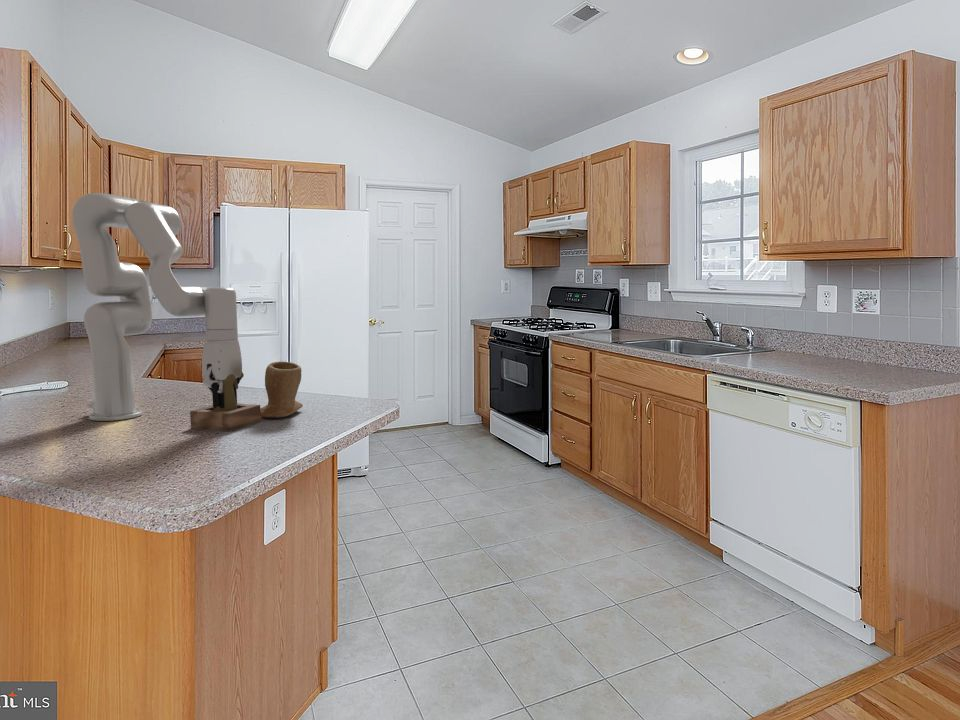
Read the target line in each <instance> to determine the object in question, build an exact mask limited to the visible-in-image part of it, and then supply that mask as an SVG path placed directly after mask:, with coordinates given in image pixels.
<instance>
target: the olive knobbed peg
mask: <svg viewBox="0 0 960 720" xmlns="http://www.w3.org/2000/svg"><path fill="white" fill-rule="evenodd" d="M214 380H215V378H214ZM234 382H235V376H234V375H233V374H230V375H228V376H227V378H226V379H225V380H223V388H222V393H224V405H225V407H224V408H220V407H219V406H218V407H216V408H214V411H232V410H235V409H237V403H238V402H237V403H236V398H235V392H234V387H233V384H234ZM215 384H216V385H217V386H218V383H215Z"/></svg>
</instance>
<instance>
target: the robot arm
mask: <svg viewBox="0 0 960 720" xmlns="http://www.w3.org/2000/svg"><path fill="white" fill-rule="evenodd" d="M71 220H72V221H71V222H72V226H73V231H74V232H75V235H76V239H77V242H78V246H79V253H80V259H81V266H82V272H83V279H84V283H85V286H86V290H87V291H88V293H89V294H91V295H93V296H96V297H100V298H101V297H103V298H106V297H111V298H112V297H113V298H117V297H119V301H99V302H98V303H96V302H95V303H94V304H92V305H90V306H89V307H88V308H87V309H86V310H85V312H84V314H83V324H84V327H85V330H86V334H87V338H88V342H89V348H90V358H91V368H92V383H93V396H94V397H93V398H94V400H92V401H91V402H90V403H87V404H86V408H87V409H92V413H89V414H88V419H89V420H90V421H97V422H107V421H108V422H110V421H120V420H121V421H122V420H129V419H133V418H137V417H140V416H141V415H143V411H142V409H140V408H137V407H136V400H135V399H136V398H135V386H134V385H135V382H134V370H133V369H134V368H133V356H132V355H133V354H132V350H131V347H130V346H129V343H128V342H127V340H126V338H125V337H124V336H135V335H136V336H137V335H141V334H145V333H146V332H147V331H148V330H149V329H150V328H151V325H152V323H153V311H152V304H151V299H150V298H151V297H150V290H149V286H150V288H151V290H152V293H153V294H154V296H155V297H156V300H158V301H157V302H158V303H159V304H160V305H161V306H162V308H163V309H164V310H165V311H166V312H167V313H169V314H170V315H171V316H174V317H193V316H194V317H195V316H196V317H198V316H204V321H205V322H204V323H205V324H204V325H205V338H206V339H205V340H206V341H205V342H204V343H203V348H202V349H203V350H202V355H201V356H202V357H201V359H202V360H201V374H202V375H201V376H202V379H203V380H202V384H203V385H204V386H206V387H207V388H208V389H209V392H210V393H211V394H212V395H211V396H212V405H213V407H214V408H216V407H218V406H219V407H220V408H224V407H225V405H224V393H222V388H223V380H225V379H226V378H227V376H228V375H230V374H233V375H234V376H235V382H234V384H233V387H234V392H235V398H236V403H238V394H237V393H238V389H239V385H240V382H241V381H242V379H243V378H244V373H243V372H244V371H243V361H242V352H241V345H240V342H239V334H238V311H237V309H238V306H237V293H236V291H235V289H234V288H232V287H224V286H223V287H222V286H221V287H208V286H194V285H193V286H192V285H191V286H189V285H188V286H187V285H186V286H184V285H183V286H182V285H180V283H179V282H178V280H177V279H176V277H175V276H174V273H173V272H172V269H171V266H172V264H174V263H175V262H177V261H178V260H179V259H180V258H181V257H182V255H183V252H184V249H183V247H182V245H181V243H180V242H179V240H178V239H177V237H176V235H178V234H179V232H180V231H181V229H182V220H181V217H180V215H179V213H178V211H176V210H175V208H173V207H171V206H169V205H164V204H158V203H155V202H150V201H146V200H142V199H138V198H133V197H129V196H128V197H127V196H121V195H117V194H111V193H105V192H104V193H102V192H91V193H86V194H84V195H81V196H80V197H79V198H77V200H76V201H75V202H74V205H73V208H72V211H71ZM107 228H116V229H125V230H129V231H130V232H131V233H132V236H133V237H134V238H135V239H136V241H137V243H138V245H139V246H140V248H141V250H142V251H143V253H144V255H146V258H147V259H148V260H149V262H150V264H149V267H148V268H149V269H148V279H147V277H146V275H145V272H144V271H143V270H142V268H141V267H139V266H138V265H137V264H135V263H131V262H122V261H121V262H120V259H119V255H118V249H117V244H116V242H115V240H114V239H113V236H112V235H111V234H110V232H109V231H108V230H107ZM148 281H149V284H148ZM214 378H215V380H214ZM215 383H218V386H217V385H216V384H215Z"/></svg>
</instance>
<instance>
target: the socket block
mask: <svg viewBox="0 0 960 720" xmlns="http://www.w3.org/2000/svg"><path fill="white" fill-rule="evenodd" d="M260 409H261V404H254V403H253V404H250V403H238V402H237V409H235V410H232V411H214V407H213V404H212V405H208V406H204V407H200V408H196V409H193V410H189V415H190V429H194V430H195V429H197V430H207V431H208V430H209V431H219V432H228V433H229V432H233V431H236V430H239V429H243V428H246V427H249V426H252V425H255V424H257V423H261V422H262V416H261V410H260Z"/></svg>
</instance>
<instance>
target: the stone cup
mask: <svg viewBox="0 0 960 720" xmlns="http://www.w3.org/2000/svg"><path fill="white" fill-rule="evenodd" d="M301 381H302V367H301V366H300V365H299V364H298V363H295V362H291V361H283V360H281V361H273V362H271V363H270V364H268V365H267V367H266V369H265V373H264V388H265V390H266V394H267V400H268V403H267V404H266V405H265V406H263V407H260V410H261V418H262V417H263V418H286V417H288V416H291V415H292V414H294V413H296V412H298V411H299V410H300V409H302V408H303V404H302V403H301V402H299V401H297V400H296V397H297V394H298V393H297V392H298V390H299V387H300V384H301Z"/></svg>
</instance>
